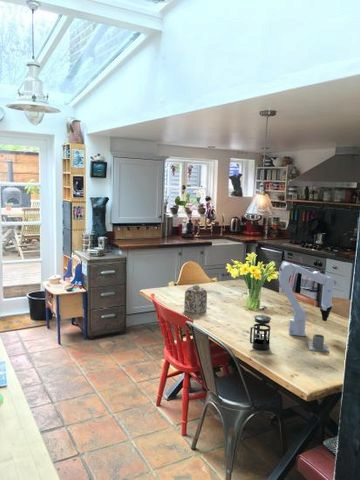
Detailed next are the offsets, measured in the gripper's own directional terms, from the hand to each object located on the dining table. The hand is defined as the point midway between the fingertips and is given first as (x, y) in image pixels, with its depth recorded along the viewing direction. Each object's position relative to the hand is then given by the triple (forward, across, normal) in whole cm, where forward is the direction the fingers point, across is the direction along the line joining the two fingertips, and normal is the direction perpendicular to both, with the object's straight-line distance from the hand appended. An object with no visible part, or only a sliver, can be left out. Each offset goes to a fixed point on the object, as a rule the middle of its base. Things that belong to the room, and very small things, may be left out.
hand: (325, 319), depth 240 cm
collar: (+9, -23, 0) cm, 25 cm away
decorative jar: (+10, +2, +86) cm, 87 cm away
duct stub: (+10, -23, 0) cm, 25 cm away
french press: (+10, -39, +28) cm, 49 cm away
